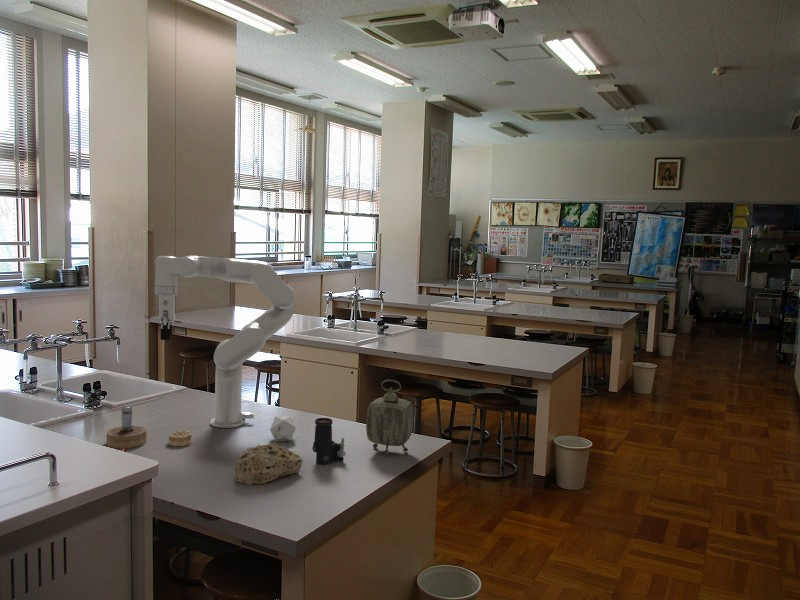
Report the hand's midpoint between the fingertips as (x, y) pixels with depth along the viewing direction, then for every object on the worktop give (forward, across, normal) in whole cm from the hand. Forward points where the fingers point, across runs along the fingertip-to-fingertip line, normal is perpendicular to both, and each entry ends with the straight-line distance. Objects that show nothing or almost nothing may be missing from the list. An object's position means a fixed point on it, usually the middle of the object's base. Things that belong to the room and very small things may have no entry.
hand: (166, 337), depth 233 cm
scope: (+32, -48, -51) cm, 77 cm away
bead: (+32, -19, +11) cm, 39 cm away
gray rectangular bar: (+32, -19, +11) cm, 39 cm away
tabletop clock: (+32, -43, -73) cm, 91 cm away
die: (+32, -24, -40) cm, 57 cm away
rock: (+33, -56, -32) cm, 73 cm away
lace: (+32, -30, +11) cm, 45 cm away
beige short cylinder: (+32, -22, -6) cm, 40 cm away
